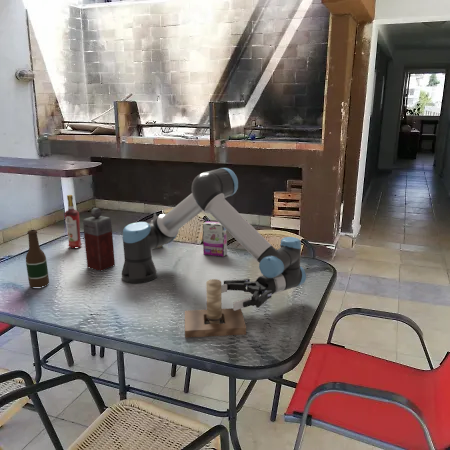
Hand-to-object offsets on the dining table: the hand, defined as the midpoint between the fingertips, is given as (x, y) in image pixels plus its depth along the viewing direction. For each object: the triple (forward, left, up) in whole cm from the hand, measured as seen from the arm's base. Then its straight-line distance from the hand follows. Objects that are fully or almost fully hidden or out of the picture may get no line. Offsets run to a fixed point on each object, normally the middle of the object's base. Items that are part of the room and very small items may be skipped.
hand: (222, 299), depth 147 cm
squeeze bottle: (-28, +85, -9) cm, 90 cm away
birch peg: (-3, -1, -9) cm, 10 cm away
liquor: (-71, +89, -9) cm, 114 cm away
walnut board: (-3, -1, -9) cm, 10 cm away
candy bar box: (+2, +70, -9) cm, 71 cm away
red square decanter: (-53, +60, -9) cm, 80 cm away
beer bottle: (-74, +40, -9) cm, 84 cm away
